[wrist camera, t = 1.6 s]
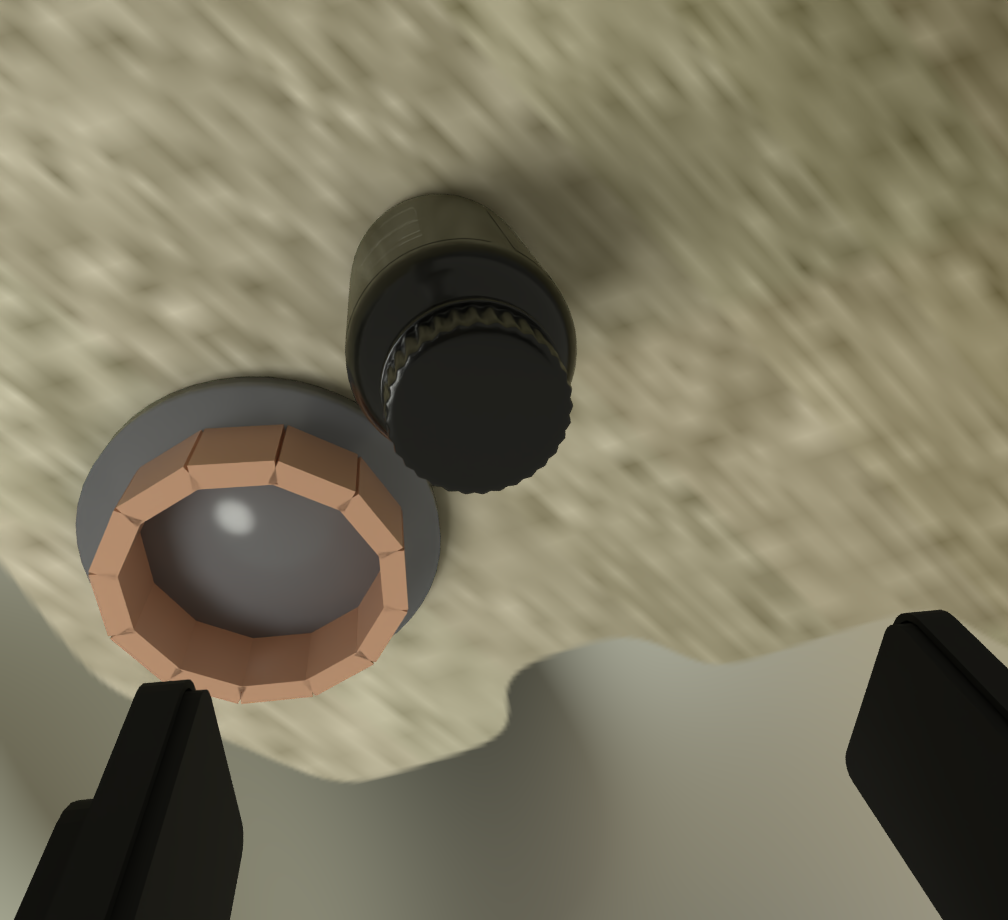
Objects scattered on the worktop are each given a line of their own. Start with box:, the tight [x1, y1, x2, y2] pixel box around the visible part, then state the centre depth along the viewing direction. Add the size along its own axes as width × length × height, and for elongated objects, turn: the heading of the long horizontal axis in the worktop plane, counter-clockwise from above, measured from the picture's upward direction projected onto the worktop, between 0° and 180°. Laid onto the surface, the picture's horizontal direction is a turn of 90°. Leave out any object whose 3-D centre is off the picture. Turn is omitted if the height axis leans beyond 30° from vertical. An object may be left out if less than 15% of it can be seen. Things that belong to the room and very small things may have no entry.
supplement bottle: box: [345, 194, 577, 494], centre depth 23 cm, size 7×7×12 cm
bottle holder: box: [76, 377, 441, 704], centre depth 31 cm, size 15×15×4 cm
